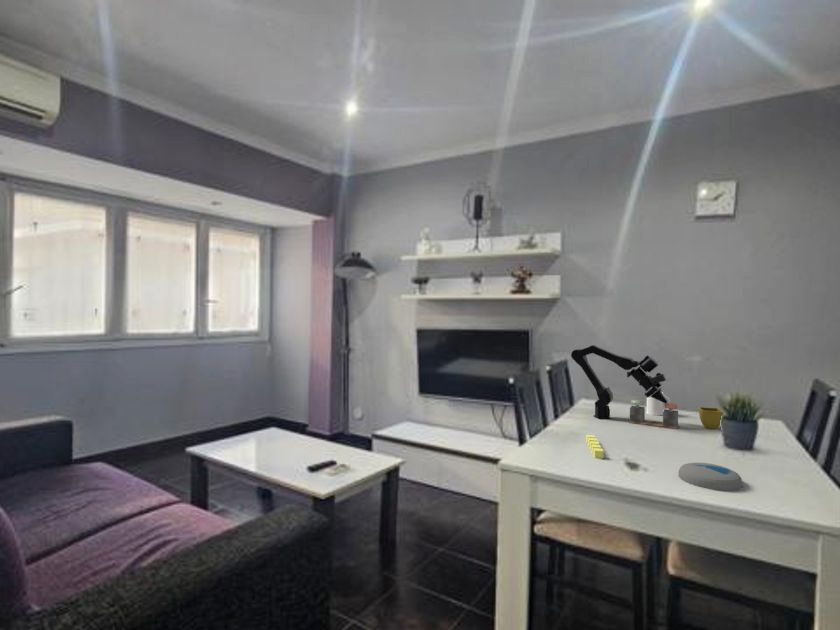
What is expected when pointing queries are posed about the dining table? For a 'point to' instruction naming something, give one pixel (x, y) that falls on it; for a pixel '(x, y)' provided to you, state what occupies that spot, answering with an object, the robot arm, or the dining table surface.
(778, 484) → the dining table surface
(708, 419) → the flower pot
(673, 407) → the red button
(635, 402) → the sage button
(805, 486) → the dining table surface
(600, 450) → the yellow ridged bar
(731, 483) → the decorative stone
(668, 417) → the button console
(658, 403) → the mug
